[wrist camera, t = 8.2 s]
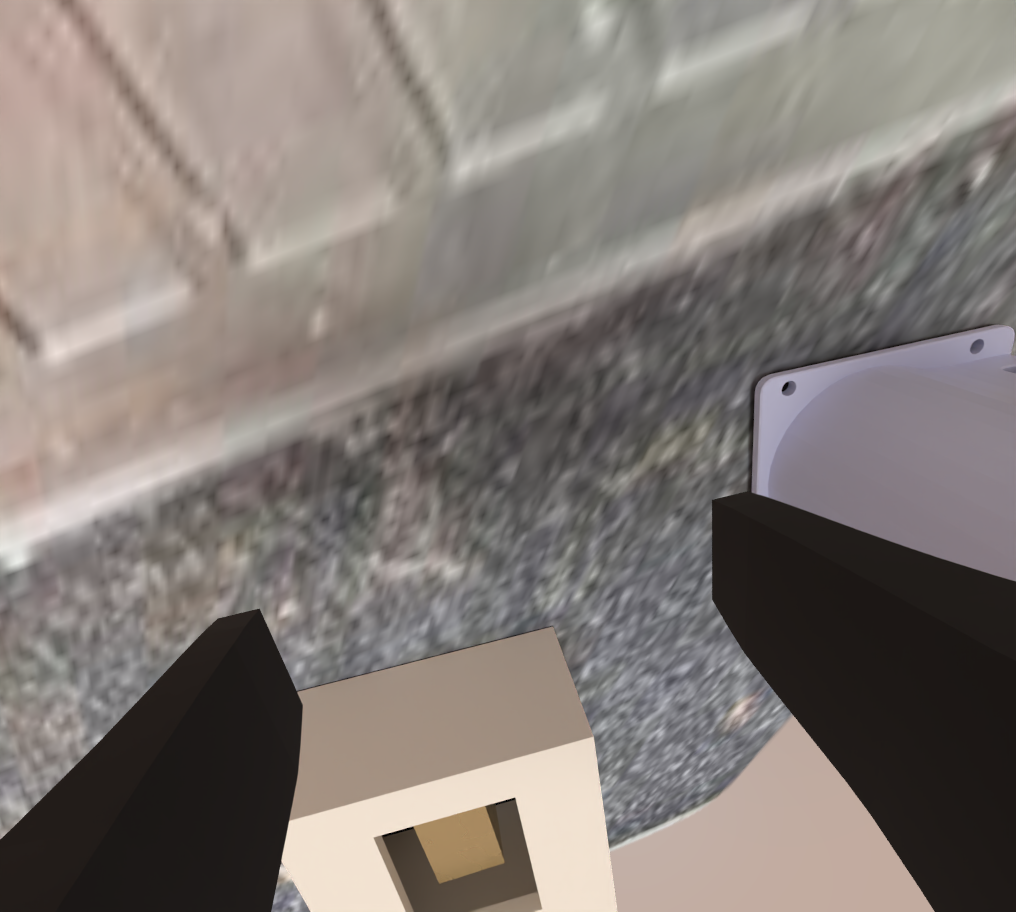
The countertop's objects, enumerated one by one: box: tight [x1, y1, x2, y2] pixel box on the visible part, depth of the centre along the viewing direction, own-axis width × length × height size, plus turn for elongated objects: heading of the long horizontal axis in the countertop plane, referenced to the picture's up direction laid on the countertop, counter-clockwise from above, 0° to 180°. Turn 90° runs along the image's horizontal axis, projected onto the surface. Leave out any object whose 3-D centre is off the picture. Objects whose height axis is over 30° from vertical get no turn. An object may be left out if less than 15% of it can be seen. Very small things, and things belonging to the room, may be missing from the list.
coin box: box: [281, 627, 617, 912], centre depth 21 cm, size 10×10×5 cm
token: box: [413, 803, 505, 884], centre depth 21 cm, size 2×4×4 cm, turn 12°
